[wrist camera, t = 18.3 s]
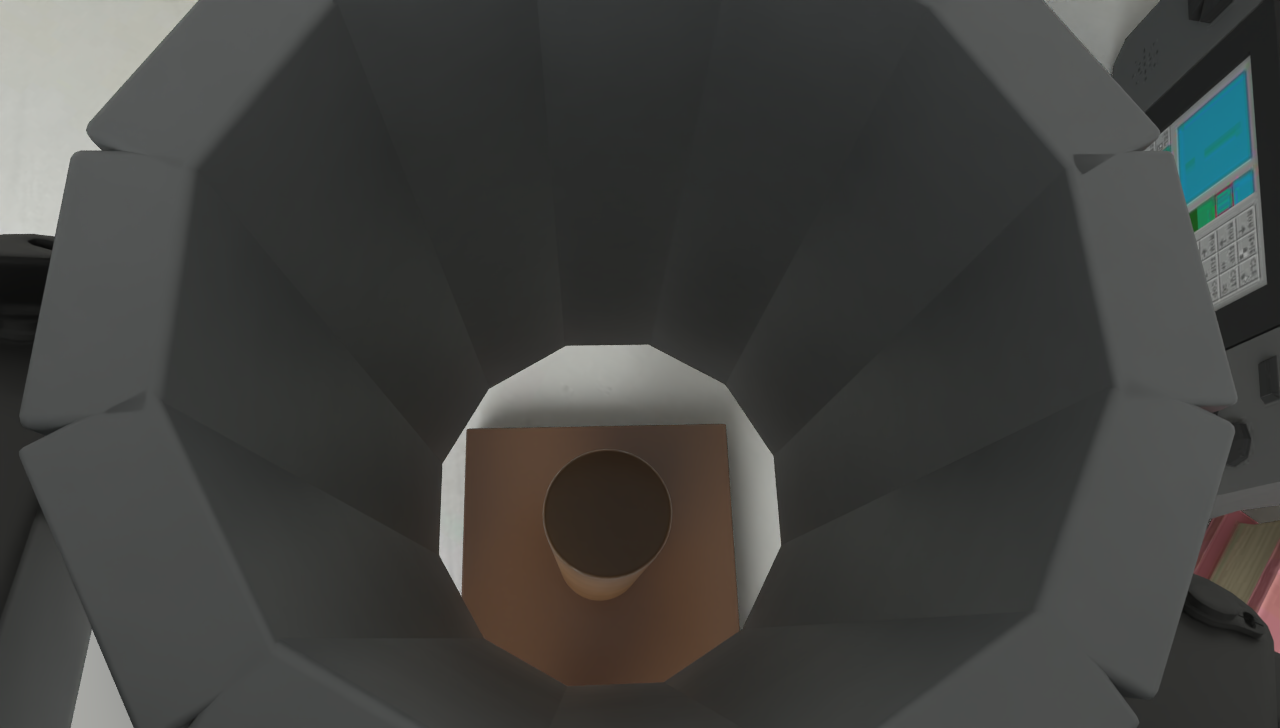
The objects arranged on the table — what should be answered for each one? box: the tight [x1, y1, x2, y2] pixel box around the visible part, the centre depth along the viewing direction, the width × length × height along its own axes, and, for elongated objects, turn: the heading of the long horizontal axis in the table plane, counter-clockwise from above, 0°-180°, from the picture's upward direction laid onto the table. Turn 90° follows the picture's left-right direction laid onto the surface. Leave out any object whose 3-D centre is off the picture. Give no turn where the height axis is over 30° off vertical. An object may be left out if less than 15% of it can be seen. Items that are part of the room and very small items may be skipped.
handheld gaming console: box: [1113, 0, 1280, 519], centre depth 33 cm, size 23×3×10 cm, turn 170°
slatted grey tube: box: [19, 0, 1238, 728], centre depth 12 cm, size 9×9×12 cm
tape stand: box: [462, 424, 740, 686], centre depth 26 cm, size 10×10×14 cm
